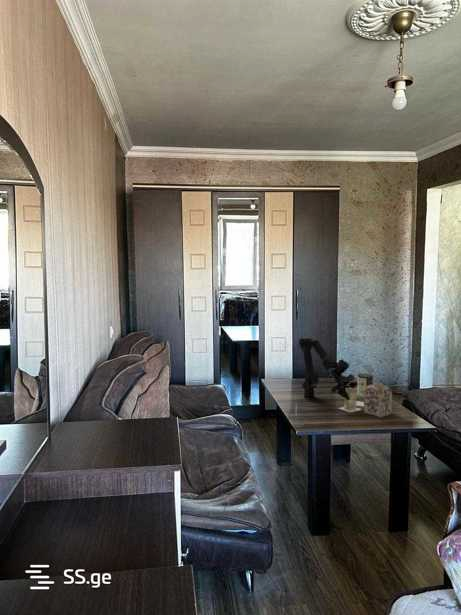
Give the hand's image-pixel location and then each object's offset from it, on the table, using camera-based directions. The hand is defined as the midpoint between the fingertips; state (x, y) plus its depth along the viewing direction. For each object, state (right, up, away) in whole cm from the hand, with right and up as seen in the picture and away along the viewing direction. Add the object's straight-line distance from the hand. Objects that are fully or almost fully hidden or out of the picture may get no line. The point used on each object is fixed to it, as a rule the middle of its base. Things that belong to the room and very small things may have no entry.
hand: (352, 399), depth 272 cm
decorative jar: (+13, -7, -6) cm, 16 cm away
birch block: (-1, -6, +2) cm, 6 cm away
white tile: (-1, -7, +2) cm, 7 cm away
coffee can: (+17, -4, +32) cm, 37 cm away
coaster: (+9, -6, +12) cm, 16 cm away
